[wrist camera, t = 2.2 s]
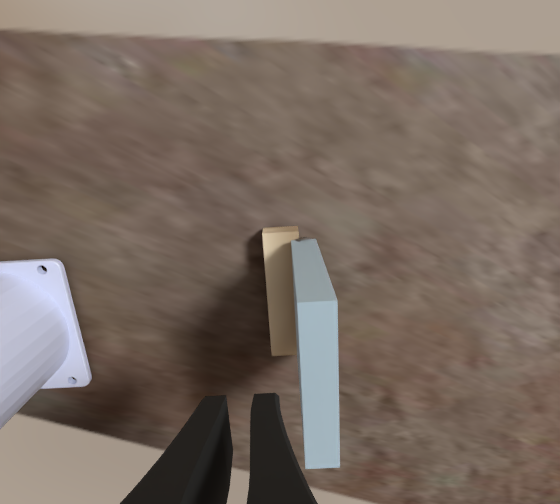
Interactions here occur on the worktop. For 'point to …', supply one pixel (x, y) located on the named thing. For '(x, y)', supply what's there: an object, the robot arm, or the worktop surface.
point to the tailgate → (316, 354)
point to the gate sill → (280, 288)
